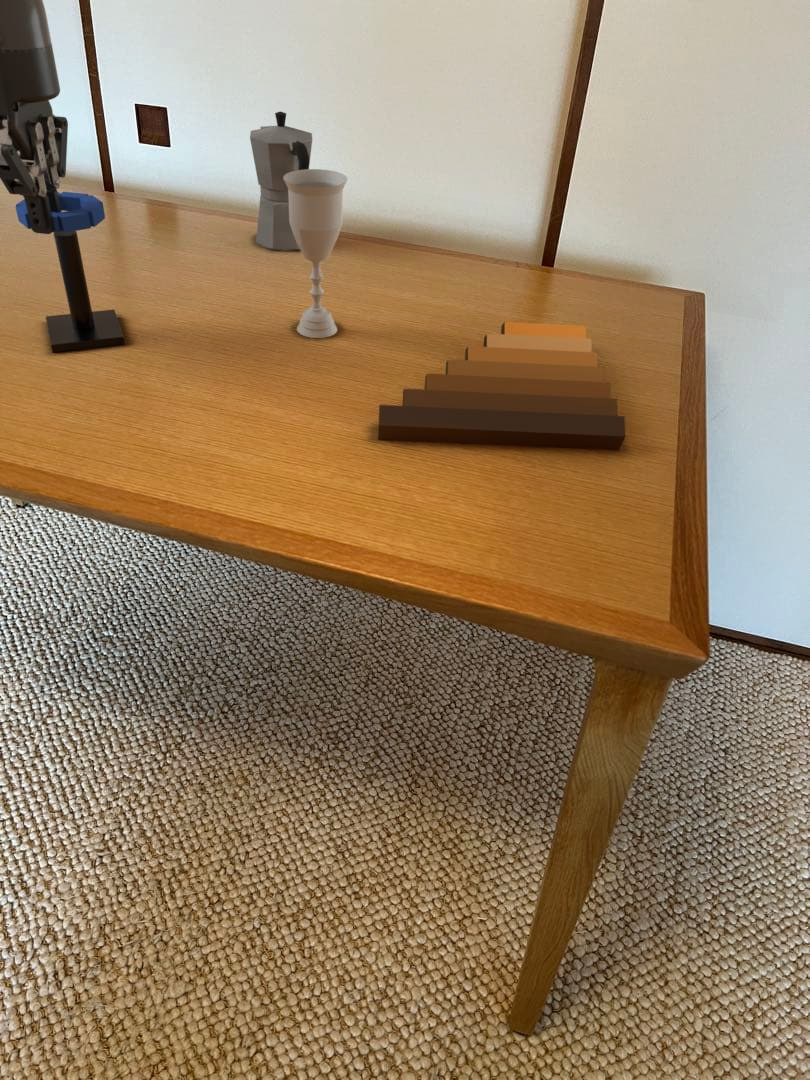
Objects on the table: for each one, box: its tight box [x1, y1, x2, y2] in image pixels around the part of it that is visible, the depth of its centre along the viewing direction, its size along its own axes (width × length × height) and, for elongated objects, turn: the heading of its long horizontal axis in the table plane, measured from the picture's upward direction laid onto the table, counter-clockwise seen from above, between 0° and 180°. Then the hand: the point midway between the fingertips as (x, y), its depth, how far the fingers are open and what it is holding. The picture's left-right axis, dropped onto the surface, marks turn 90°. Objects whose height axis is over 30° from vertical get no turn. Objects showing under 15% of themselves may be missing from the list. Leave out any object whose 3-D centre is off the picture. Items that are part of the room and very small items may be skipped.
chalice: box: [283, 168, 348, 339], centre depth 96 cm, size 7×7×18 cm
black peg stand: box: [45, 231, 126, 354], centre depth 93 cm, size 8×8×12 cm
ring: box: [15, 191, 106, 233], centre depth 88 cm, size 8×8×2 cm
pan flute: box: [377, 321, 626, 451], centre depth 92 cm, size 25×3×25 cm
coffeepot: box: [249, 111, 313, 252], centre depth 119 cm, size 15×9×18 cm, turn 29°
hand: (48, 228), depth 86 cm, fingers closed on ring
